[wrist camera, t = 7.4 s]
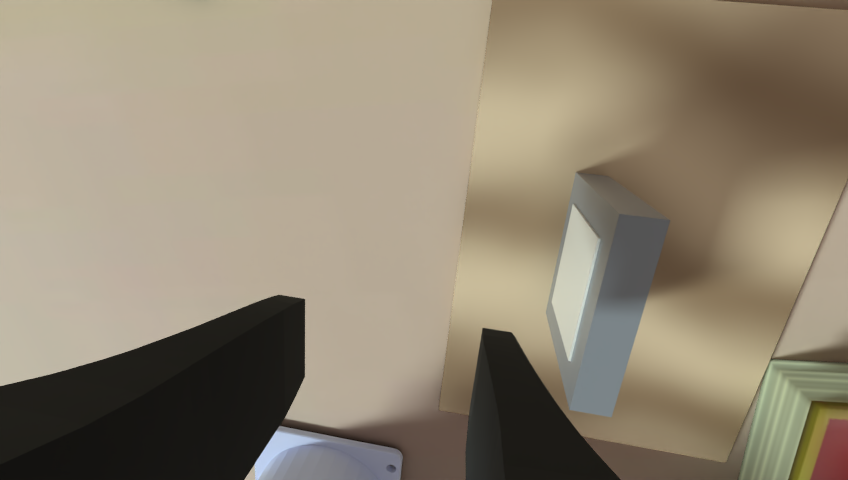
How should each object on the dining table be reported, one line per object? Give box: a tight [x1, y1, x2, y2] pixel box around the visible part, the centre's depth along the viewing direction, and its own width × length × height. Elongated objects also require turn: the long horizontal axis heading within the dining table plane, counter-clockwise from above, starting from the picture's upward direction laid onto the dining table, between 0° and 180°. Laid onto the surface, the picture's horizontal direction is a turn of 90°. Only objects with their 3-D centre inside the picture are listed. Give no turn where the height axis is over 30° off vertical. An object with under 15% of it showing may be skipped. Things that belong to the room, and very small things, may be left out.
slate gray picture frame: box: [546, 172, 670, 417], centre depth 14 cm, size 6×1×6 cm, turn 175°
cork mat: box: [439, 0, 848, 463], centre depth 17 cm, size 18×13×1 cm
